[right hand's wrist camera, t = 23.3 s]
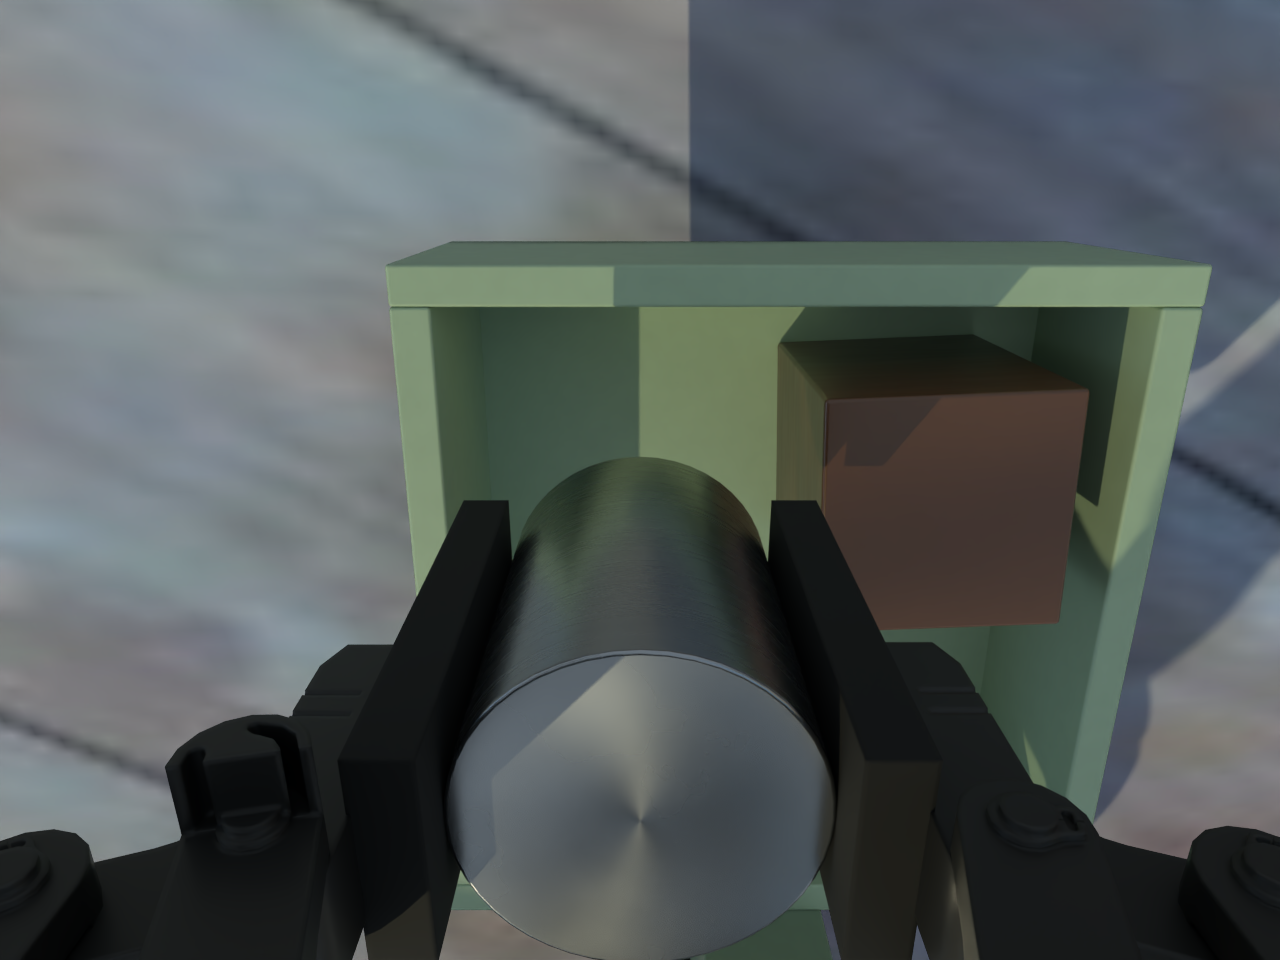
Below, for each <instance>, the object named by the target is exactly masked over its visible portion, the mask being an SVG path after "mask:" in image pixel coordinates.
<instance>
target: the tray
mask: <svg viewBox="0 0 1280 960" xmlns="http://www.w3.org/2000/svg"><path fill="white" fill-rule="evenodd" d="M385 270H386V280H387V291H388V301H389V305H390V306H392V307H391V308H390V310H389V312H390V322H391V333H392V343H393V354H394V364H395V375H396V385H397V396H398V406H399V417H400V427H401V438H402V448H403V459H404V470H405V480H406V491H407V501H408V512H409V522H410V533H411V543H412V554H413V564H414V575H415V585H416V596H417V595H418V593H419V591H420V589H421V587H422V585H423V583H424V581H425V579H426V577H427V575H428V573H429V571H430V568H431V566H432V564H433V562H434V560H435V558H436V556H437V554H438V552H439V550H440V548H441V546H442V544H443V542H444V540H445V538H446V536H447V534H448V531H449V529H450V527H451V525H452V523H453V521H454V519H455V517H456V515H457V513H458V511H459V509H460V507H461V505H462V503H463V501H464V500H509V514H510V531H511V547H512V560H513V557H514V554H515V551H516V547H517V544H518V541H519V538H520V535H521V532H522V529H523V527H524V525H525V523H526V521H527V519H528V517H529V516H530V514H531V513H532V511H533V510H534V508H535V507H536V505H537V504H538V503H539V502H540V501H541V500H542V499H543V497H544V496H545V495H546V494H547V493H548V492H549V491H550V490H552V489H553V488H554V487H555V486H556V485H558V484H559V483H560V482H561V481H563V480H564V479H566V478H568V477H569V476H571V475H572V474H574V473H576V472H578V471H580V470H582V469H584V468H587V467H589V466H591V465H595V464H598V463H601V462H604V461H608V460H613V459H619V458H627V457H653V458H661V459H666V460H672V461H676V462H679V463H682V464H685V465H688V466H691V467H693V468H695V469H697V470H700V471H702V472H704V473H706V474H707V475H709V476H711V477H712V478H714V479H715V480H717V481H718V482H720V483H721V484H722V485H723V486H725V487H726V488H727V489H728V490H729V491H731V492H732V493H733V494H734V495H735V497H736V498H737V499H738V500H739V501H740V502H741V503H742V504H743V506H744V507H745V509H746V510H747V512H748V513H749V515H750V516H751V518H752V520H753V522H754V524H755V526H756V528H757V530H758V532H759V536H760V539H761V542H762V545H763V548H764V551H765V555H766V558H767V561H768V549H769V532H770V516H771V500H776V462H777V372H778V344H779V343H781V342H801V341H825V340H849V339H873V338H897V337H921V336H945V335H969V334H973V335H976V336H978V337H980V338H982V339H984V340H986V341H989V342H991V343H993V344H995V345H997V346H999V347H1001V348H1003V349H1005V350H1007V351H1009V352H1012V353H1014V354H1016V355H1018V356H1020V357H1022V358H1024V359H1026V360H1028V361H1030V362H1033V363H1035V364H1037V365H1039V366H1041V367H1043V368H1045V369H1047V370H1049V371H1051V372H1053V373H1056V374H1058V375H1060V376H1062V377H1064V378H1066V379H1068V380H1070V381H1072V382H1074V383H1077V384H1079V385H1081V386H1083V387H1085V388H1087V389H1089V393H1090V394H1089V401H1088V409H1087V416H1086V424H1085V431H1084V439H1083V446H1082V454H1081V461H1080V469H1079V476H1078V484H1077V491H1076V499H1075V506H1074V514H1073V521H1072V529H1071V536H1070V544H1069V551H1068V559H1067V566H1066V574H1065V581H1064V588H1063V596H1062V603H1061V611H1060V618H1059V622H1058V623H1056V624H1035V625H1008V626H982V627H955V628H928V629H901V630H880V632H881V634H882V636H883V638H884V640H885V642H933V643H934V644H936V645H937V646H938V647H940V648H941V649H942V650H944V651H945V652H946V653H948V654H949V655H950V656H951V657H953V658H954V659H955V660H957V661H958V662H959V663H961V665H962V667H963V668H964V670H965V672H966V673H967V675H968V677H969V678H970V680H971V681H972V683H973V685H974V686H975V691H976V693H979V695H980V696H981V698H982V699H983V701H984V703H985V704H986V706H987V708H988V713H991V714H992V716H993V718H994V719H995V721H996V722H997V724H998V726H999V727H1000V729H1001V731H1002V732H1003V734H1004V736H1005V737H1006V739H1007V740H1008V742H1009V744H1010V745H1011V747H1012V749H1013V750H1014V752H1015V754H1016V755H1017V757H1018V759H1019V760H1020V762H1021V763H1022V765H1023V767H1024V768H1025V770H1026V772H1027V773H1028V775H1029V777H1030V778H1031V780H1032V781H1033V783H1034V784H1038V785H1042V786H1044V787H1046V788H1048V789H1050V790H1052V791H1054V792H1056V793H1058V794H1060V795H1062V796H1064V797H1066V798H1067V799H1068V800H1070V801H1071V802H1072V803H1073V804H1074V805H1075V806H1077V807H1078V808H1079V809H1080V810H1081V811H1083V812H1084V813H1085V814H1086V815H1087V816H1088V818H1089V820H1090V821H1091V823H1092V824H1093V821H1094V817H1095V812H1096V807H1097V803H1098V798H1099V793H1100V788H1101V784H1102V779H1103V774H1104V770H1105V765H1106V760H1107V756H1108V751H1109V746H1110V742H1111V737H1112V732H1113V728H1114V723H1115V718H1116V714H1117V709H1118V704H1119V700H1120V695H1121V690H1122V686H1123V681H1124V676H1125V672H1126V667H1127V662H1128V658H1129V653H1130V648H1131V644H1132V639H1133V634H1134V630H1135V625H1136V620H1137V616H1138V611H1139V606H1140V602H1141V597H1142V592H1143V587H1144V583H1145V578H1146V573H1147V569H1148V564H1149V559H1150V555H1151V550H1152V545H1153V541H1154V536H1155V531H1156V527H1157V522H1158V517H1159V513H1160V508H1161V503H1162V499H1163V494H1164V489H1165V485H1166V480H1167V475H1168V471H1169V466H1170V461H1171V457H1172V452H1173V447H1174V443H1175V438H1176V433H1177V429H1178V424H1179V419H1180V415H1181V410H1182V405H1183V401H1184V396H1185V391H1186V386H1187V382H1188V377H1189V372H1190V368H1191V363H1192V358H1193V354H1194V349H1195V344H1196V340H1197V335H1198V330H1199V326H1200V321H1201V316H1202V308H1200V307H1201V306H1203V305H1204V304H1205V299H1206V295H1207V290H1208V285H1209V281H1210V276H1211V271H1212V266H1211V265H1210V264H1205V263H1198V262H1192V261H1186V260H1179V259H1173V258H1167V257H1160V256H1154V255H1147V254H1141V253H1135V252H1128V251H1122V250H1116V249H1109V248H1103V247H1096V246H1090V245H1084V244H1077V243H1071V242H564V241H452V242H449V243H446V244H444V245H441V246H438V247H435V248H432V249H430V250H427V251H424V252H421V253H418V254H416V255H413V256H410V257H407V258H404V259H401V260H399V261H396V262H393V263H390V264H388V265H386V267H385ZM451 910H492V909H491V908H490V907H489V906H488V905H487V904H486V903H485V902H484V901H483V900H482V899H481V898H480V897H479V896H478V895H477V893H476V892H475V891H474V889H473V888H472V887H471V885H470V884H469V883H468V881H467V880H466V878H465V877H464V875H463V873H462V871H460V875H459V879H458V883H457V887H456V891H455V895H454V899H453V903H452V908H451ZM821 910H829V907H828V903H827V899H826V895H825V891H824V887H823V883H822V879H821V874H820V870H819V872H818V874H817V875H816V877H815V879H814V880H813V881H812V883H811V884H810V886H809V887H808V888H807V890H806V891H805V892H804V894H803V895H802V896H801V897H800V898H799V899H798V900H797V901H796V902H795V903H794V904H793V905H792V906H791V907H790V908H789V909H788V910H787V911H786V912H785V913H784V914H782V915H781V916H780V917H779V918H777V919H776V920H775V921H774V922H772V923H771V924H770V925H768V926H766V927H765V928H763V929H762V930H760V931H758V932H757V933H755V934H754V935H752V936H750V937H748V938H746V939H744V940H742V941H740V942H738V943H735V944H733V945H731V946H728V947H726V948H723V949H720V950H717V951H714V952H712V953H709V954H705V955H700V956H696V957H692V958H690V960H833V959H832V955H831V951H830V947H829V943H828V939H827V935H826V930H825V926H824V922H823V918H822V914H821Z"/></svg>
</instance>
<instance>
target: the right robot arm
mask: <svg viewBox="0 0 1280 960" xmlns="http://www.w3.org/2000/svg"><path fill="white" fill-rule="evenodd" d="M511 564H512V547H511V531H510V514H509V500H464V501H463V503H462V505H461V507H460V509H459V511H458V513H457V515H456V517H455V519H454V521H453V523H452V525H451V527H450V529H449V531H448V534H447V536H446V538H445V540H444V542H443V544H442V546H441V548H440V550H439V552H438V554H437V556H436V558H435V560H434V562H433V564H432V566H431V568H430V571H429V573H428V575H427V577H426V579H425V581H424V583H423V585H422V587H421V589H420V591H419V593H418V595H417V597H416V599H415V601H414V603H413V605H412V607H411V610H410V612H409V614H408V616H407V618H406V620H405V622H404V624H403V626H402V628H401V630H400V632H399V634H398V636H397V638H396V640H395V642H394V644H393V645H347V646H346V647H344V648H343V649H342V650H340V651H339V652H338V653H336V654H335V655H334V656H332V657H331V658H330V659H329V660H327V661H326V662H325V663H323V664H322V665H321V666H320V667H319V669H318V670H317V672H316V674H315V675H314V677H313V678H312V680H311V682H310V683H309V685H308V687H307V688H306V690H305V695H302V697H301V698H300V700H299V702H298V703H297V705H296V707H295V708H294V710H293V716H289V718H288V717H284V716H281V715H250V716H246V717H242V718H237V719H233V720H229V721H225V722H222V723H220V724H218V725H216V726H214V727H211V728H209V729H207V730H205V731H202V732H200V733H198V734H197V735H196V736H194V737H193V738H192V739H190V740H189V741H188V742H186V743H185V744H184V745H182V746H181V747H180V748H178V749H177V750H176V752H175V753H174V755H173V756H172V757H171V759H170V760H169V762H168V763H167V764H166V766H165V769H166V773H167V777H168V782H169V786H170V790H171V794H172V798H173V802H174V806H175V810H176V814H177V818H178V822H179V826H180V830H181V834H182V836H181V838H180V840H179V841H177V842H174V843H171V844H168V845H164V846H161V847H158V848H155V849H150V850H146V851H142V852H138V853H133V854H129V855H125V856H120V857H116V858H112V859H108V860H103V861H99V862H95V863H94V861H93V858H92V854H91V851H90V848H89V845H88V844H87V843H86V842H85V841H84V840H83V839H82V838H80V837H79V836H78V835H77V834H76V833H71V832H65V831H60V830H54V829H53V830H44V831H36V832H28V833H23V834H20V835H17V836H14V837H11V838H8V839H5V840H2V841H0V960H352V958H353V955H354V953H355V950H356V947H357V944H358V941H359V938H360V935H361V933H362V930H363V927H364V934H365V940H366V946H367V953H368V959H369V960H439V957H440V952H441V948H442V944H443V940H444V936H445V932H446V928H447V924H448V920H449V916H450V912H451V908H452V903H453V899H454V895H455V891H456V887H457V883H458V879H459V875H460V871H461V869H460V868H459V866H458V864H457V862H456V860H455V858H454V855H453V852H452V849H451V846H450V844H449V841H448V837H447V832H446V826H445V821H444V799H443V797H444V790H445V783H446V776H447V773H448V770H449V766H450V763H451V760H452V757H453V753H454V750H455V747H456V744H457V740H458V737H459V734H460V730H461V727H462V724H463V721H464V717H465V714H466V711H467V708H468V704H469V701H470V698H471V695H472V691H473V688H474V685H475V681H476V678H477V675H478V672H479V668H480V665H481V662H482V659H483V655H484V652H485V649H486V645H487V642H488V639H489V636H490V632H491V629H492V626H493V623H494V619H495V616H496V613H497V610H498V606H499V603H500V600H501V596H502V593H503V590H504V587H505V583H506V580H507V577H508V574H509V570H510V567H511ZM768 564H769V568H770V571H771V574H772V577H773V581H774V584H775V587H776V590H777V594H778V597H779V600H780V603H781V607H782V610H783V613H784V616H785V619H786V623H787V626H788V629H789V632H790V636H791V639H792V642H793V645H794V649H795V652H796V655H797V658H798V662H799V665H800V668H801V671H802V675H803V678H804V681H805V684H806V687H807V691H808V694H809V697H810V700H811V704H812V707H813V710H814V713H815V717H816V720H817V723H818V726H819V730H820V733H821V736H822V739H823V743H824V746H825V749H826V752H827V755H828V759H829V762H830V765H831V768H832V772H833V775H834V780H835V787H836V794H837V811H836V822H835V828H834V834H833V838H832V842H831V844H830V847H829V850H828V853H827V856H826V858H825V861H824V862H823V864H822V866H821V868H820V874H821V879H822V883H823V887H824V891H825V895H826V899H827V903H828V907H829V911H830V915H831V919H832V923H833V928H834V932H835V936H836V940H837V944H838V948H839V952H840V956H841V960H912V953H913V947H914V941H915V934H916V928H917V925H918V928H919V931H920V934H921V937H922V939H923V942H924V945H925V948H926V951H927V954H928V956H929V959H930V960H1280V837H1277V836H1274V835H1271V834H1268V833H1265V832H1263V831H1260V830H1257V829H1249V828H1241V827H1232V826H1224V827H1219V828H1213V829H1208V830H1205V831H1204V832H1202V833H1201V834H1200V835H1199V836H1198V837H1197V838H1196V839H1195V840H1193V842H1192V845H1191V848H1190V851H1189V855H1188V858H1187V859H1183V858H1179V857H1175V856H1170V855H1166V854H1162V853H1158V852H1153V851H1149V850H1145V849H1140V848H1136V847H1132V846H1127V845H1124V844H1121V843H1117V842H1114V841H1111V840H1108V839H1104V838H1102V837H1100V836H1099V834H1098V832H1097V831H1096V829H1095V828H1094V826H1093V824H1092V823H1091V821H1090V820H1089V818H1088V816H1087V815H1086V814H1085V813H1084V812H1083V811H1081V810H1080V809H1079V808H1078V807H1077V806H1075V805H1074V804H1073V803H1072V802H1071V801H1070V800H1068V799H1067V798H1066V797H1064V796H1062V795H1060V794H1058V793H1056V792H1054V791H1052V790H1050V789H1048V788H1046V787H1044V786H1042V785H1038V784H1034V783H1033V781H1032V780H1031V778H1030V777H1029V775H1028V773H1027V772H1026V770H1025V768H1024V767H1023V765H1022V763H1021V762H1020V760H1019V759H1018V757H1017V755H1016V754H1015V752H1014V750H1013V749H1012V747H1011V745H1010V744H1009V742H1008V740H1007V739H1006V737H1005V736H1004V734H1003V732H1002V731H1001V729H1000V727H999V726H998V724H997V722H996V721H995V719H994V718H993V716H992V714H991V713H988V708H987V706H986V704H985V703H984V701H983V699H982V698H981V696H980V695H979V693H976V691H975V686H974V685H973V683H972V681H971V680H970V678H969V677H968V675H967V673H966V672H965V670H964V668H963V667H962V665H961V663H959V662H958V661H957V660H955V659H954V658H953V657H951V656H950V655H949V654H948V653H946V652H945V651H944V650H942V649H941V648H940V647H938V646H937V645H936V644H934V643H933V642H885V640H884V638H883V636H882V634H881V632H880V630H879V628H878V626H877V624H876V622H875V620H874V618H873V616H872V613H871V611H870V609H869V607H868V605H867V603H866V601H865V599H864V597H863V595H862V593H861V591H860V589H859V587H858V585H857V583H856V581H855V579H854V576H853V574H852V572H851V570H850V568H849V566H848V564H847V562H846V560H845V558H844V556H843V554H842V552H841V550H840V548H839V546H838V544H837V542H836V540H835V537H834V535H833V533H832V531H831V529H830V527H829V525H828V523H827V521H826V519H825V517H824V515H823V513H822V511H821V509H820V507H819V505H818V503H817V500H771V516H770V532H769V549H768Z"/></svg>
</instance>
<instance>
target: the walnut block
mask: <svg viewBox="0 0 1280 960" xmlns="http://www.w3.org/2000/svg"><path fill="white" fill-rule="evenodd" d="M1089 394H1090V393H1089V389H1087V388H1085V387H1083V386H1081V385H1079V384H1077V383H1074V382H1072V381H1070V380H1068V379H1066V378H1064V377H1062V376H1060V375H1058V374H1056V373H1053V372H1051V371H1049V370H1047V369H1045V368H1043V367H1041V366H1039V365H1037V364H1035V363H1033V362H1030V361H1028V360H1026V359H1024V358H1022V357H1020V356H1018V355H1016V354H1014V353H1012V352H1009V351H1007V350H1005V349H1003V348H1001V347H999V346H997V345H995V344H993V343H991V342H989V341H986V340H984V339H982V338H980V337H978V336H976V335H973V334H969V335H945V336H921V337H897V338H873V339H849V340H825V341H801V342H781V343H779V344H778V372H777V462H776V500H817V503H818V505H819V507H820V509H821V511H822V513H823V515H824V517H825V519H826V521H827V523H828V525H829V527H830V529H831V531H832V533H833V535H834V537H835V540H836V542H837V544H838V546H839V548H840V550H841V552H842V554H843V556H844V558H845V560H846V562H847V564H848V566H849V568H850V570H851V572H852V574H853V576H854V579H855V581H856V583H857V585H858V587H859V589H860V591H861V593H862V595H863V597H864V599H865V601H866V603H867V605H868V607H869V609H870V611H871V613H872V616H873V618H874V620H875V622H876V624H877V626H878V628H879V630H901V629H928V628H955V627H982V626H1008V625H1035V624H1056V623H1058V622H1059V618H1060V611H1061V603H1062V596H1063V588H1064V581H1065V574H1066V566H1067V559H1068V551H1069V544H1070V536H1071V529H1072V521H1073V514H1074V506H1075V499H1076V491H1077V484H1078V476H1079V469H1080V461H1081V454H1082V446H1083V439H1084V431H1085V424H1086V416H1087V409H1088V401H1089Z"/></svg>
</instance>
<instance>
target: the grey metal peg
mask: <svg viewBox="0 0 1280 960" xmlns="http://www.w3.org/2000/svg"><path fill="white" fill-rule="evenodd" d="M443 799H444V821H445V826H446V832H447V837H448V841H449V844H450V846H451V849H452V852H453V855H454V858H455V860H456V862H457V864H458V866H459V868H460V869H461V871H462V873H463V875H464V877H465V878H466V880H467V881H468V883H469V884H470V885H471V887H472V888H473V889H474V891H475V892H476V893H477V895H478V896H479V897H480V898H481V899H482V900H483V901H484V902H485V903H486V904H487V905H488V906H489V907H490V908H491V909H492V910H493V911H494V912H495V913H497V914H498V915H499V916H500V917H502V918H503V919H504V920H505V921H507V922H508V923H509V924H511V925H512V926H514V927H515V928H517V929H519V930H520V931H522V932H523V933H525V934H527V935H528V936H530V937H532V938H534V939H536V940H538V941H541V942H543V943H545V944H547V945H549V946H552V947H554V948H557V949H560V950H563V951H566V952H568V953H572V954H576V955H580V956H584V957H588V958H592V959H598V960H682V959H688V958H692V957H696V956H700V955H705V954H709V953H712V952H714V951H717V950H720V949H723V948H726V947H728V946H731V945H733V944H735V943H738V942H740V941H742V940H744V939H746V938H748V937H750V936H752V935H754V934H755V933H757V932H758V931H760V930H762V929H763V928H765V927H766V926H768V925H770V924H771V923H772V922H774V921H775V920H776V919H777V918H779V917H780V916H781V915H782V914H784V913H785V912H786V911H787V910H788V909H789V908H790V907H791V906H792V905H793V904H794V903H795V902H796V901H797V900H798V899H799V898H800V897H801V896H802V895H803V894H804V892H805V891H806V890H807V888H808V887H809V886H810V884H811V883H812V881H813V880H814V879H815V877H816V875H817V874H818V872H819V870H820V868H821V866H822V864H823V862H824V861H825V858H826V856H827V853H828V850H829V847H830V844H831V842H832V838H833V834H834V828H835V822H836V811H837V794H836V787H835V780H834V775H833V772H832V768H831V765H830V762H829V759H828V755H827V752H826V749H825V746H824V743H823V739H822V736H821V733H820V730H819V726H818V723H817V720H816V717H815V713H814V710H813V707H812V704H811V700H810V697H809V694H808V691H807V687H806V684H805V681H804V678H803V675H802V671H801V668H800V665H799V662H798V658H797V655H796V652H795V649H794V645H793V642H792V639H791V636H790V632H789V629H788V626H787V623H786V619H785V616H784V613H783V610H782V607H781V603H780V600H779V597H778V594H777V590H776V587H775V584H774V581H773V577H772V574H771V571H770V568H769V564H768V561H767V558H766V555H765V551H764V548H763V545H762V542H761V539H760V536H759V532H758V530H757V528H756V526H755V524H754V522H753V520H752V518H751V516H750V515H749V513H748V512H747V510H746V509H745V507H744V506H743V504H742V503H741V502H740V501H739V500H738V499H737V498H736V497H735V495H734V494H733V493H732V492H731V491H729V490H728V489H727V488H726V487H725V486H723V485H722V484H721V483H720V482H718V481H717V480H715V479H714V478H712V477H711V476H709V475H707V474H706V473H704V472H702V471H700V470H697V469H695V468H693V467H691V466H688V465H685V464H682V463H679V462H676V461H672V460H666V459H661V458H653V457H627V458H619V459H613V460H608V461H604V462H601V463H598V464H595V465H591V466H589V467H587V468H584V469H582V470H580V471H578V472H576V473H574V474H572V475H571V476H569V477H568V478H566V479H564V480H563V481H561V482H560V483H559V484H558V485H556V486H555V487H554V488H553V489H552V490H550V491H549V492H548V493H547V494H546V495H545V496H544V497H543V499H542V500H541V501H540V502H539V503H538V504H537V505H536V507H535V508H534V510H533V511H532V513H531V514H530V516H529V517H528V519H527V521H526V523H525V525H524V527H523V529H522V532H521V535H520V538H519V541H518V544H517V547H516V551H515V554H514V557H513V560H512V564H511V567H510V570H509V574H508V577H507V580H506V583H505V587H504V590H503V593H502V596H501V600H500V603H499V606H498V610H497V613H496V616H495V619H494V623H493V626H492V629H491V632H490V636H489V639H488V642H487V645H486V649H485V652H484V655H483V659H482V662H481V665H480V668H479V672H478V675H477V678H476V681H475V685H474V688H473V691H472V695H471V698H470V701H469V704H468V708H467V711H466V714H465V717H464V721H463V724H462V727H461V730H460V734H459V737H458V740H457V744H456V747H455V750H454V753H453V757H452V760H451V763H450V766H449V770H448V773H447V776H446V783H445V790H444V797H443Z"/></svg>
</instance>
